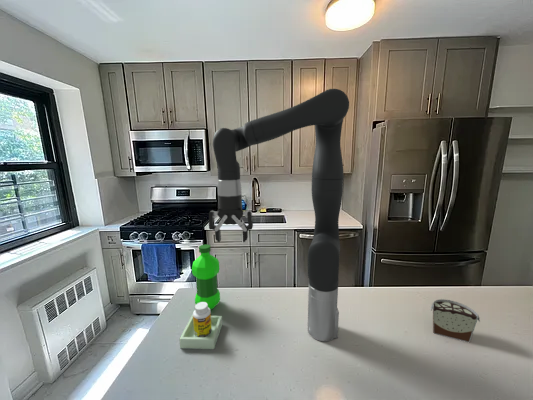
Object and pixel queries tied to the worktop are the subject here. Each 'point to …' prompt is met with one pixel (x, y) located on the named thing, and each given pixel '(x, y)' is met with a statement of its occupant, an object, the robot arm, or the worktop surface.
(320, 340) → the robot arm
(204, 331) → the supplement bottle
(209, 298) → the plastic bottle
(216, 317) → the tray
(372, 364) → the worktop surface
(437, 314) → the mint chocolate cake slice
